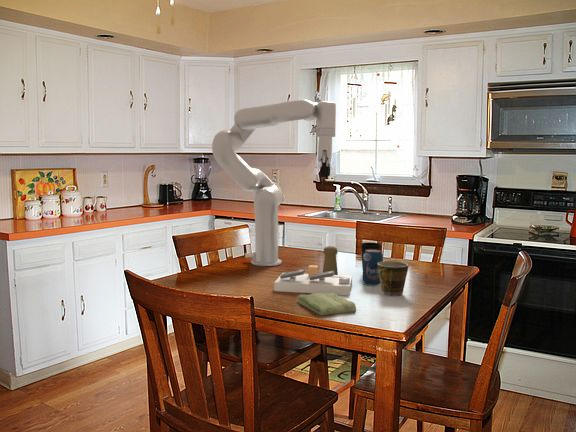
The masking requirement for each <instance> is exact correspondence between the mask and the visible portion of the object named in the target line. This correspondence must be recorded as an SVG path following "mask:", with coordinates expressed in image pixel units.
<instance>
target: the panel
mask: <svg viewBox="0 0 576 432" xmlns="http://www.w3.org/2000/svg"><path fill="white" fill-rule="evenodd" d="M283 273H284V272H282V273H281V274H283ZM281 274H280V275H279V276H278V278H277V279H276V280H274V283H273V284H274V285H273V286H274V287H273V289H274V292H281V293H282V292H284V293H301V294H303V293H304V294H314V293H334V294H336V295H338V296H339V295H340V296H341V295H342V296H350V293H351V291H352V287H353V286H352V285H353V275H339V274H338V275H334V276H331V277H326V278H320V279H315V280H310V276H311V275H308V273H304V275H299V276H294V277H289V278H283V279H281V278H280V276H281Z"/></svg>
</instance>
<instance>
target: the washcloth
mask: <svg viewBox="0 0 576 432" xmlns="http://www.w3.org/2000/svg"><path fill="white" fill-rule="evenodd" d="M297 299H298V300H297V303H298V304H299V303H300V304H299V305H302V306H303V307H305V308H306V307H307V308H306V309H308V310H310V311H311V312H313V311H314V313H316V314H318V315H319V316H328V315H336V314H347V313H349V314H350V313H354V312H357V306H356V303H355V302H354V301H352V300H348V299H347V298H345V297H343V296H341V295H340V296H339V295H337V294H334V293H309V294H305V293H304V294H303V293H301V294H299V295H298V297H297Z"/></svg>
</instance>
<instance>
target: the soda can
mask: <svg viewBox="0 0 576 432" xmlns="http://www.w3.org/2000/svg"><path fill="white" fill-rule="evenodd" d="M383 261H384V255H383V253H382V249H381V250H378V249H366V250H365V252H364V254H363V268H362V281H363V283H364V285H366V286H371V287H372V286H373V287H374V286H381V285H380V277H379V272H378V263H379V262H383Z"/></svg>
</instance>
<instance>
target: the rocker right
mask: <svg viewBox="0 0 576 432" xmlns="http://www.w3.org/2000/svg"><path fill="white" fill-rule="evenodd" d="M331 276H334V271H329V272H324V273H322V272H318V274H313V275H311V276H310V280H315V279H320V278H326V277H331Z"/></svg>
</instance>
